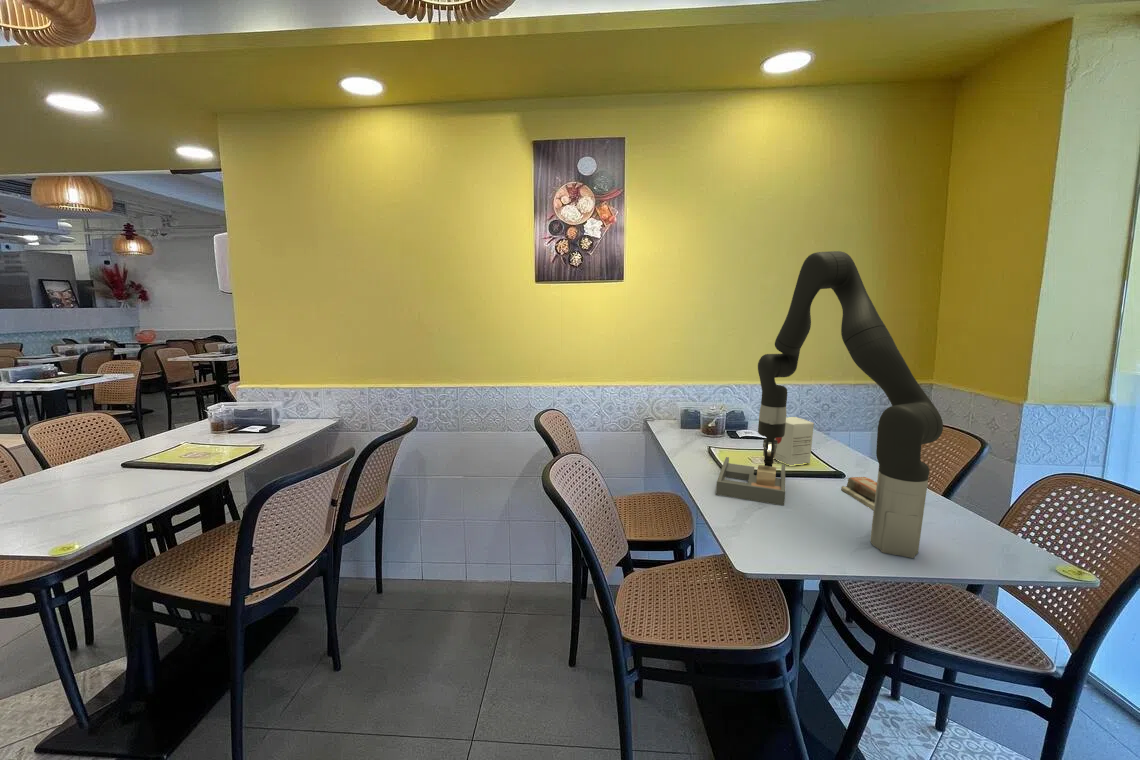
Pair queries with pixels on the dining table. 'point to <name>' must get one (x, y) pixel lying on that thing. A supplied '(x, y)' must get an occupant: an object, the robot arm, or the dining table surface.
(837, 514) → the dining table surface
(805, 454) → the supplement box
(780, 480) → the box
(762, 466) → the block
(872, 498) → the packaged product
